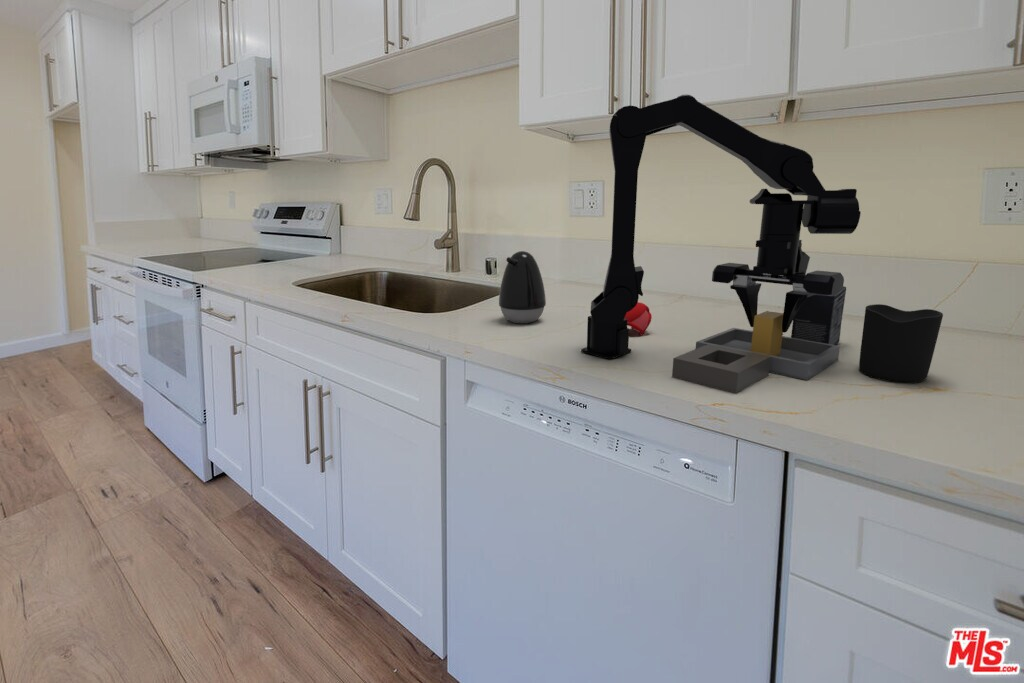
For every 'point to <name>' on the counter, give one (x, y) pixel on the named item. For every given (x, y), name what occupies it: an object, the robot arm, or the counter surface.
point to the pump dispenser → (522, 289)
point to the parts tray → (782, 353)
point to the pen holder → (898, 343)
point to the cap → (639, 318)
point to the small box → (820, 318)
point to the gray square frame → (721, 367)
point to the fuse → (767, 333)
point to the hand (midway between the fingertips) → (768, 329)
